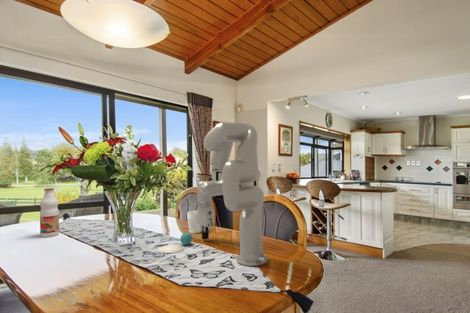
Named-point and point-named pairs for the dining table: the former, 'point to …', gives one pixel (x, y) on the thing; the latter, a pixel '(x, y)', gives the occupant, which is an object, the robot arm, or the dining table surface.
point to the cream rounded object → (171, 249)
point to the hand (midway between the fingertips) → (205, 238)
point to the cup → (193, 222)
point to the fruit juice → (49, 214)
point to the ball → (186, 238)
